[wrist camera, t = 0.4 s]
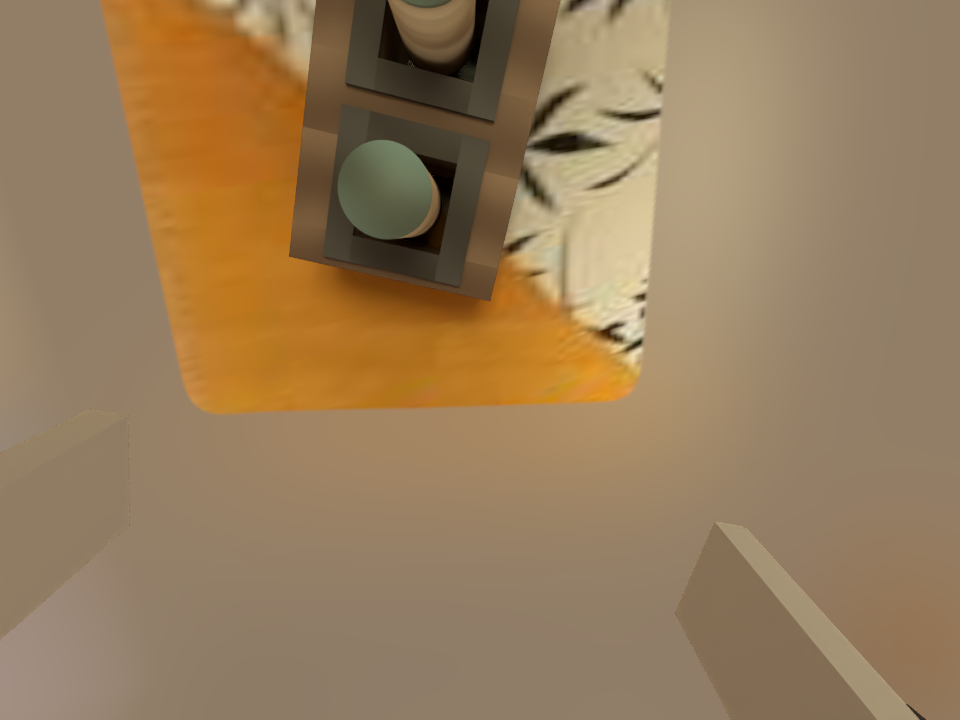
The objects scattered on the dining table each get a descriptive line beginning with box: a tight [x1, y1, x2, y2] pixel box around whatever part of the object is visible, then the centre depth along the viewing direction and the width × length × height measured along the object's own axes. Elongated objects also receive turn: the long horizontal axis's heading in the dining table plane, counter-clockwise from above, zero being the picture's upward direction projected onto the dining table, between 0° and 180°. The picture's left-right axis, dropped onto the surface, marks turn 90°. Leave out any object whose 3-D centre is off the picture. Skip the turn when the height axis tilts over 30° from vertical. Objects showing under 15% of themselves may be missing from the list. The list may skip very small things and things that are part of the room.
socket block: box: [289, 0, 560, 301], centre depth 28 cm, size 18×12×8 cm, turn 167°
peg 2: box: [338, 140, 442, 239], centre depth 23 cm, size 4×4×8 cm
